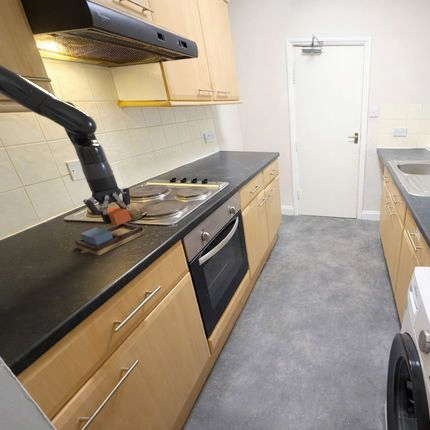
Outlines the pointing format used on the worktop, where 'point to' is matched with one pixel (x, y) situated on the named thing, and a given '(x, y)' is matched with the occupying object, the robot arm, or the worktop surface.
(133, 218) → the bread roll
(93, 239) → the blue bevelled block
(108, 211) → the terracotta pad
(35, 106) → the robot arm
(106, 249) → the brown wooden tray
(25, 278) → the worktop surface
